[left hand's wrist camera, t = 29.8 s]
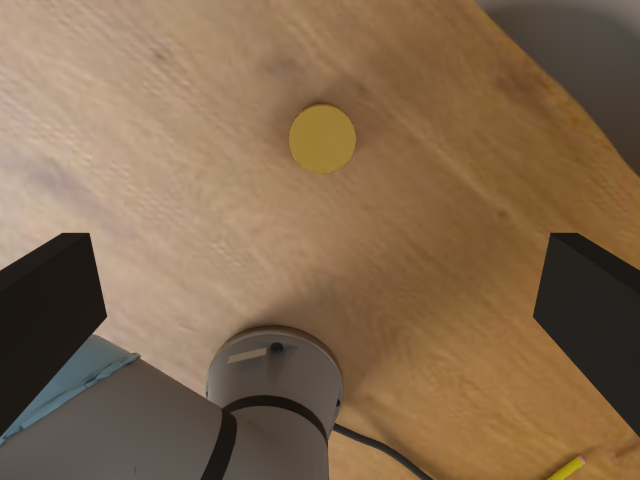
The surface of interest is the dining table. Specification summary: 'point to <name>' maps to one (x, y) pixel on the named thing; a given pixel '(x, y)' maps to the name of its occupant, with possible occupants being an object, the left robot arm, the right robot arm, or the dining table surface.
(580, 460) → the pencil
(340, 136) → the lid
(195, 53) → the dining table surface
